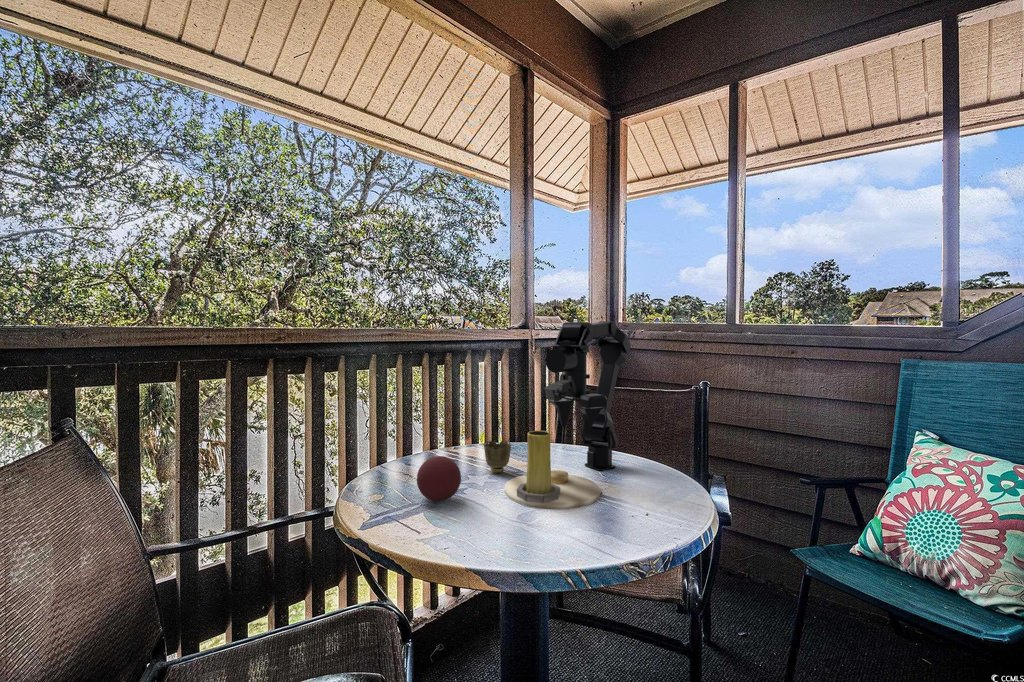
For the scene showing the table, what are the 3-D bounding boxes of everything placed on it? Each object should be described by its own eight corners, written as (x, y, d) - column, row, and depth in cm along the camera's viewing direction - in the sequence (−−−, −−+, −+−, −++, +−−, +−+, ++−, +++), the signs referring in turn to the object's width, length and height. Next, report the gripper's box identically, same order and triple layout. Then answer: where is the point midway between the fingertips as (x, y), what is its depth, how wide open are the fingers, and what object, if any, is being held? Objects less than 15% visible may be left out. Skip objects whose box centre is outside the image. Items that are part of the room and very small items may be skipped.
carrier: (561, 472, 131) (561, 461, 131) (621, 497, 111) (621, 484, 111) (487, 485, 119) (487, 473, 119) (539, 516, 99) (539, 501, 99)
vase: (520, 493, 110) (520, 432, 110) (539, 488, 114) (539, 428, 114) (538, 501, 105) (538, 437, 105) (557, 495, 109) (557, 433, 109)
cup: (512, 469, 133) (512, 440, 133) (509, 477, 126) (509, 447, 126) (486, 468, 134) (486, 440, 134) (481, 476, 127) (481, 446, 127)
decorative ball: (449, 510, 102) (449, 464, 102) (408, 504, 105) (408, 460, 105) (467, 495, 112) (468, 453, 111) (429, 490, 115) (430, 449, 115)
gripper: (529, 369, 127) (529, 427, 127) (573, 374, 111) (572, 441, 111) (562, 367, 133) (562, 423, 133) (609, 372, 117) (608, 436, 117)
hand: (574, 430), depth 123 cm, fingers open, 9 cm apart
